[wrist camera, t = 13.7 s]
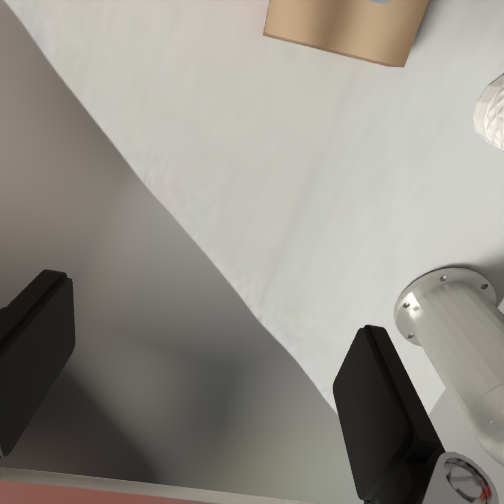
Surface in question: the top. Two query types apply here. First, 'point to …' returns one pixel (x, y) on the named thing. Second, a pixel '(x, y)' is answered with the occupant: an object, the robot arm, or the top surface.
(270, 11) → the pedestal
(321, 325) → the top surface
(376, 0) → the block
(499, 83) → the white cup
